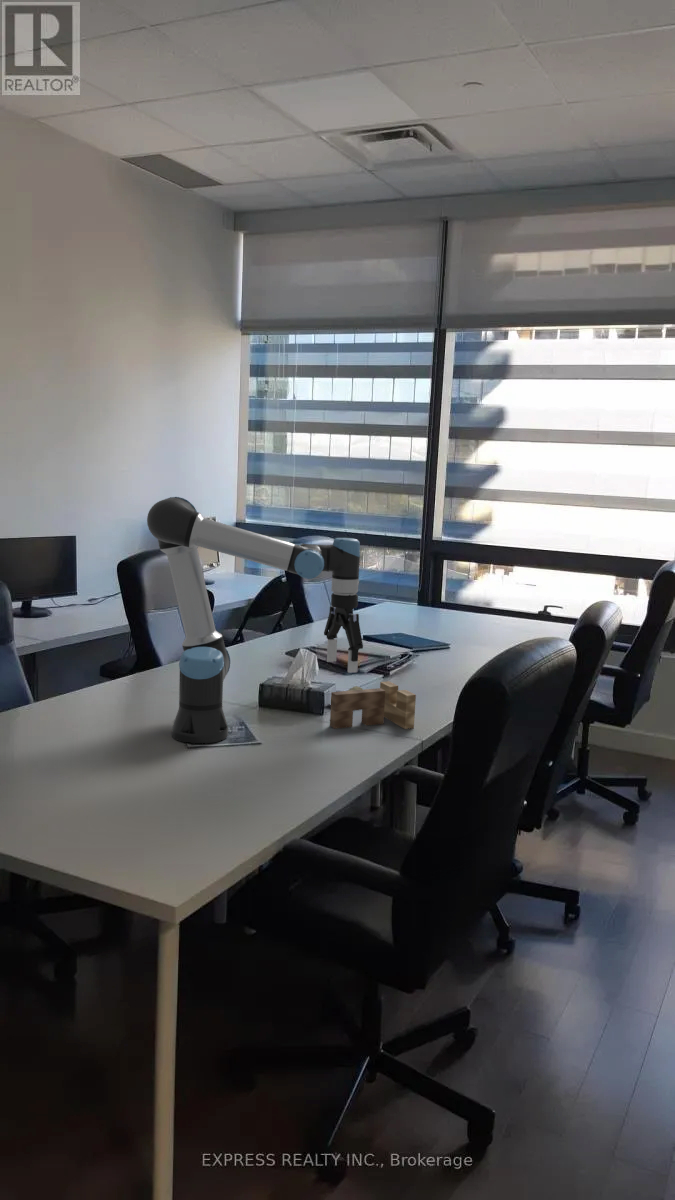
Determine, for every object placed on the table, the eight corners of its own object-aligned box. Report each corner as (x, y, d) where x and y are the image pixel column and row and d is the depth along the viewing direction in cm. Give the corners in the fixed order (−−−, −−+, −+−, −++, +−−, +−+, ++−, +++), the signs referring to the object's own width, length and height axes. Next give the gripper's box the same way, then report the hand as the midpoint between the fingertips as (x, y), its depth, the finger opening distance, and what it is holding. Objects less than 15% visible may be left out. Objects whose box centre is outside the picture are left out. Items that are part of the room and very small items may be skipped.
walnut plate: (334, 728, 258) (335, 694, 256) (329, 725, 261) (331, 692, 259) (383, 723, 265) (385, 690, 263) (378, 720, 267) (380, 688, 266)
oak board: (404, 729, 261) (406, 695, 259) (378, 713, 275) (380, 681, 273) (413, 728, 262) (415, 694, 260) (387, 713, 276) (389, 681, 274)
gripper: (377, 599, 244) (373, 676, 248) (337, 586, 267) (334, 656, 270) (352, 600, 241) (349, 678, 245) (314, 586, 263) (311, 657, 267)
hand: (341, 666), depth 257 cm, fingers open, 13 cm apart
